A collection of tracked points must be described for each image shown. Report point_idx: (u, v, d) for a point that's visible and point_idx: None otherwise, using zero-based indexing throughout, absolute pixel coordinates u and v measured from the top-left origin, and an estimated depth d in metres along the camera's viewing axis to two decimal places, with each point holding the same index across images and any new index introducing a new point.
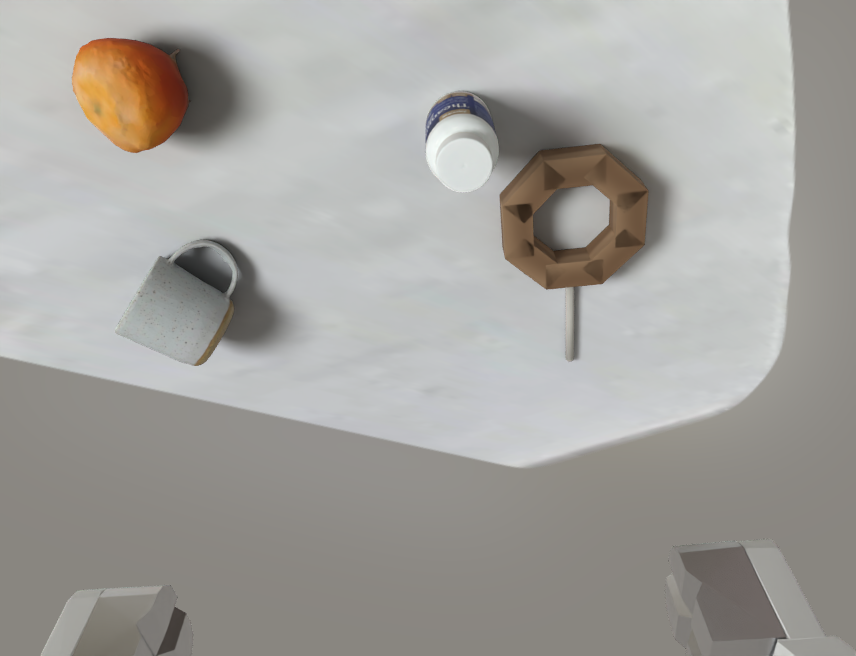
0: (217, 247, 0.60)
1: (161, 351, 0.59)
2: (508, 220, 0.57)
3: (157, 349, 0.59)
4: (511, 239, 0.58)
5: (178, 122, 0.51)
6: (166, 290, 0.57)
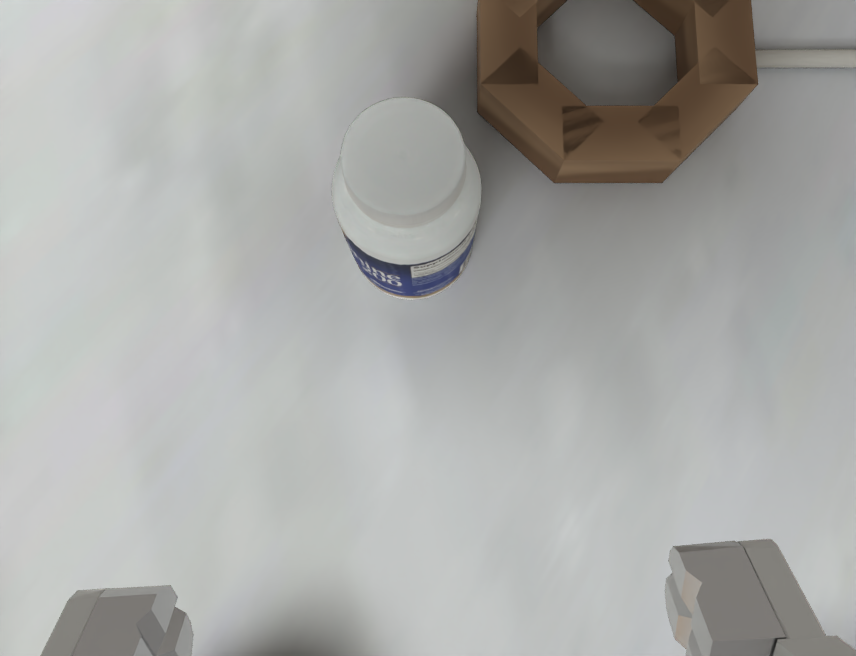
0: None
1: None
2: (595, 149, 0.29)
3: None
4: (636, 146, 0.29)
5: None
6: None
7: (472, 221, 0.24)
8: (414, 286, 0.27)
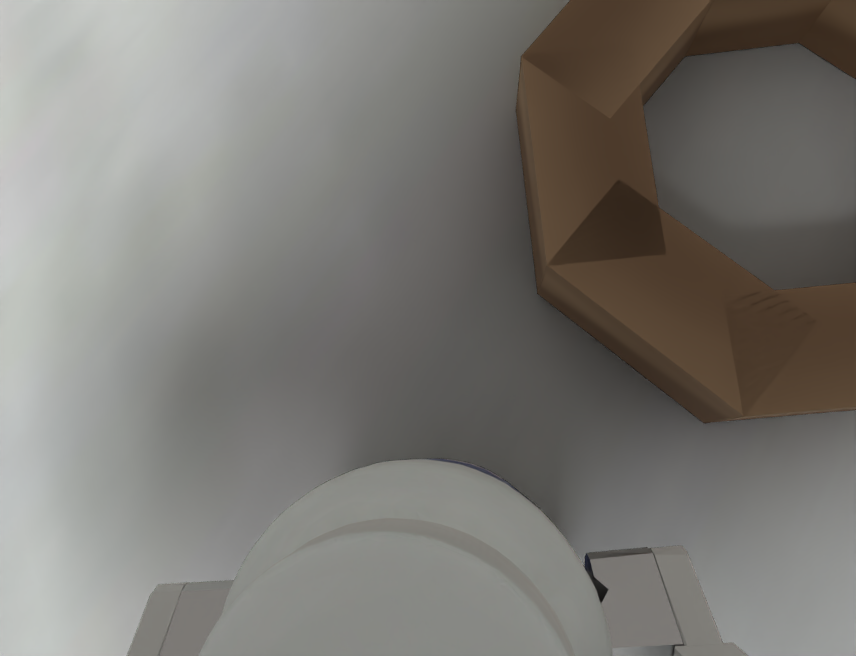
0: None
1: None
2: (809, 387, 0.13)
3: None
4: None
5: None
6: None
7: None
8: None
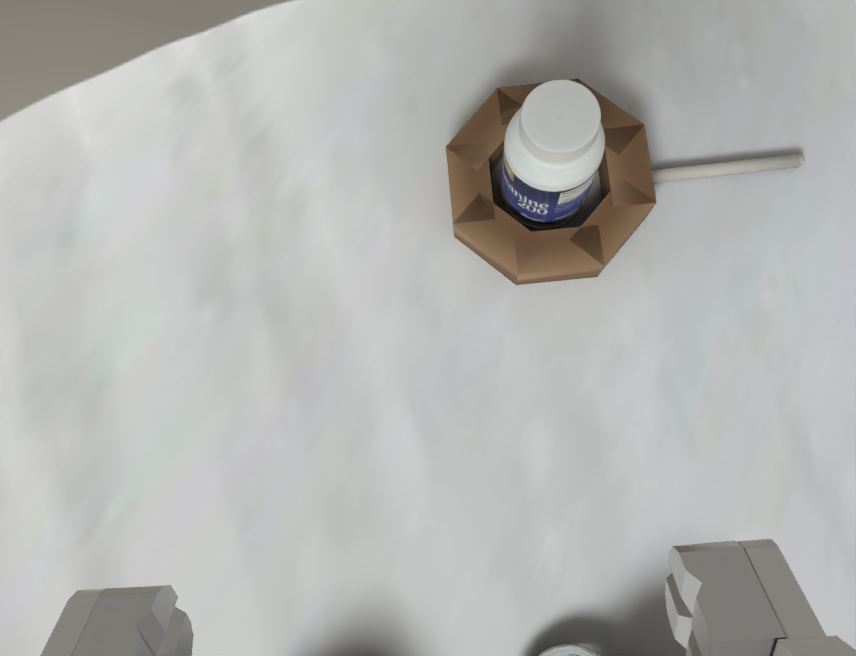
0: None
1: None
2: (540, 264, 0.40)
3: None
4: (570, 258, 0.39)
5: None
6: None
7: (601, 158, 0.36)
8: (555, 213, 0.40)
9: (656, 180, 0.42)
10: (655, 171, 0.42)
